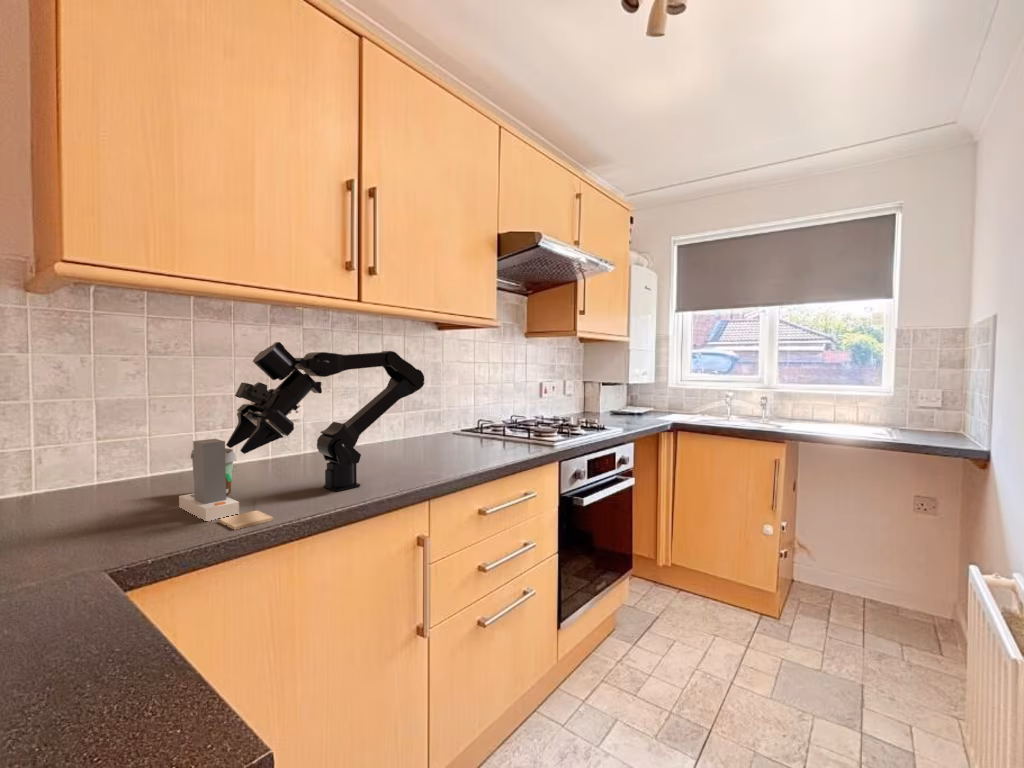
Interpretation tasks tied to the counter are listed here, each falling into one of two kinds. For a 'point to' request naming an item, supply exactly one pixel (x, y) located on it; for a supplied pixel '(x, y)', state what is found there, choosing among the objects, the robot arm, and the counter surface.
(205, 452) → the brick
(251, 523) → the cork mat
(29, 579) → the counter surface
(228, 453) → the food container
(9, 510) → the counter surface
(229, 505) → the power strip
